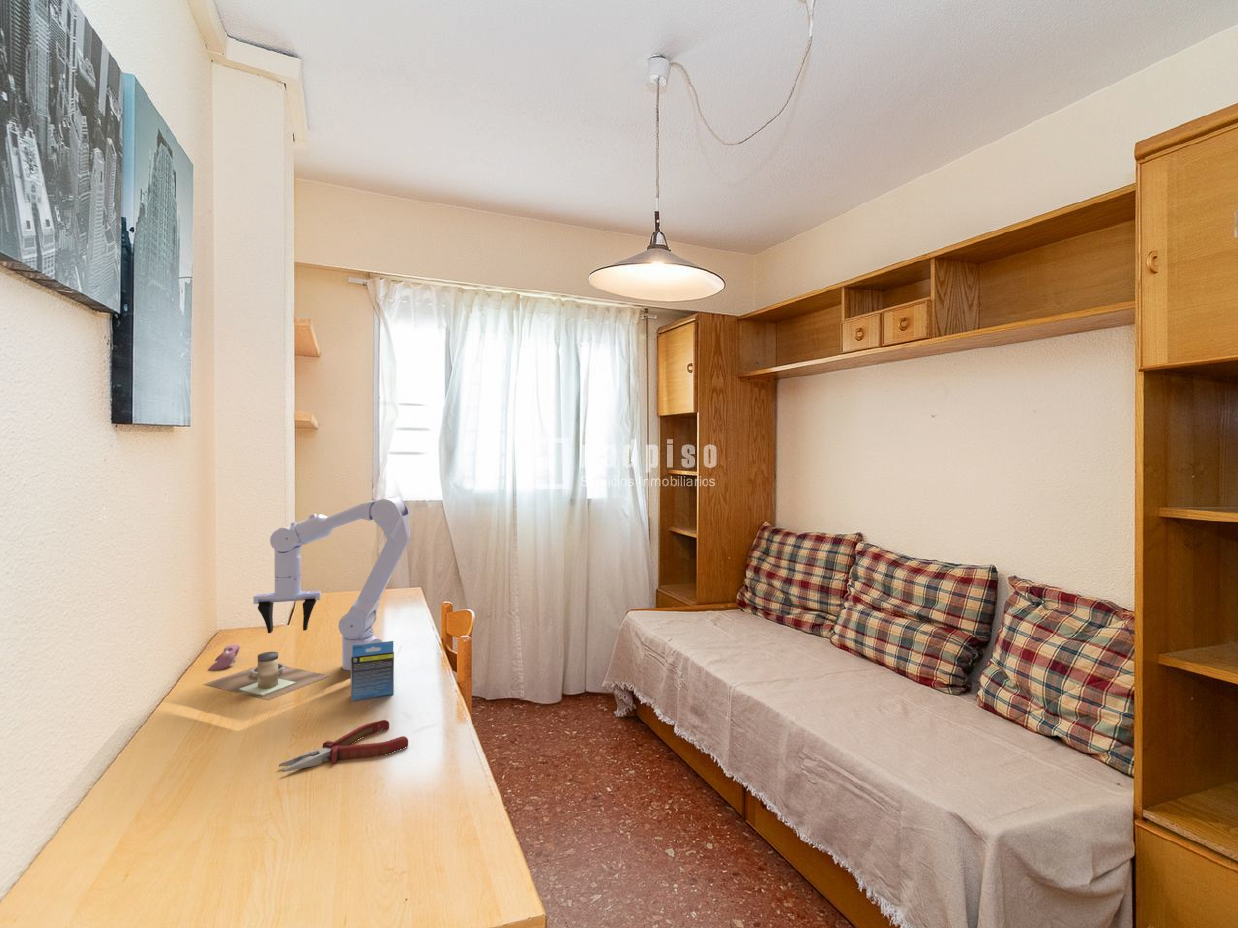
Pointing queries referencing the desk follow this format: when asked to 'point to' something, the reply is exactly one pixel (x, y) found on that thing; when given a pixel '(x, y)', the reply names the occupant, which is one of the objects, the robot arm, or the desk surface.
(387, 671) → the label tape box
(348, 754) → the pliers
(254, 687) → the sage pad
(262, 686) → the beech pin
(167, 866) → the desk surface
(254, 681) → the walnut board
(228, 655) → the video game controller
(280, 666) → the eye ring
